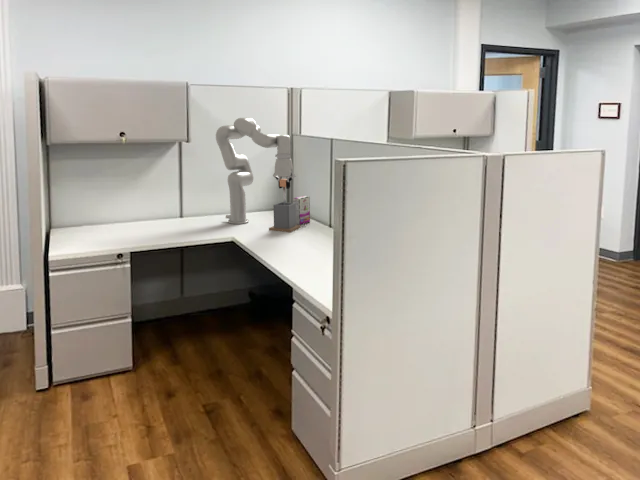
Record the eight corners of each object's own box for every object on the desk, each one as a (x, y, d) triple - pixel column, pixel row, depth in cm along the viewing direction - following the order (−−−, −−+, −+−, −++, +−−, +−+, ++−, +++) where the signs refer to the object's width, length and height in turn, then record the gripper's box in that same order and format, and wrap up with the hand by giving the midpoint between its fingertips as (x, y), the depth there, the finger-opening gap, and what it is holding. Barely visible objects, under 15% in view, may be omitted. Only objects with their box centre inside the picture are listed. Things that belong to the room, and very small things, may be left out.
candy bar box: (303, 221, 377) (303, 195, 373) (310, 222, 374) (310, 196, 371) (293, 224, 368) (292, 197, 364) (299, 225, 365) (299, 198, 361)
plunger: (276, 212, 349) (275, 179, 345) (281, 210, 356) (281, 178, 352) (287, 213, 347) (287, 180, 342) (293, 211, 353) (292, 178, 349)
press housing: (269, 230, 350) (268, 205, 347) (279, 226, 363) (279, 201, 359) (290, 232, 345) (290, 206, 341) (300, 227, 357) (300, 202, 354)
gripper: (267, 156, 344) (268, 188, 348) (294, 157, 338) (294, 189, 342) (273, 155, 351) (274, 186, 355) (299, 156, 345) (300, 188, 349)
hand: (284, 188), depth 348 cm, fingers closed on plunger, 4 cm apart
